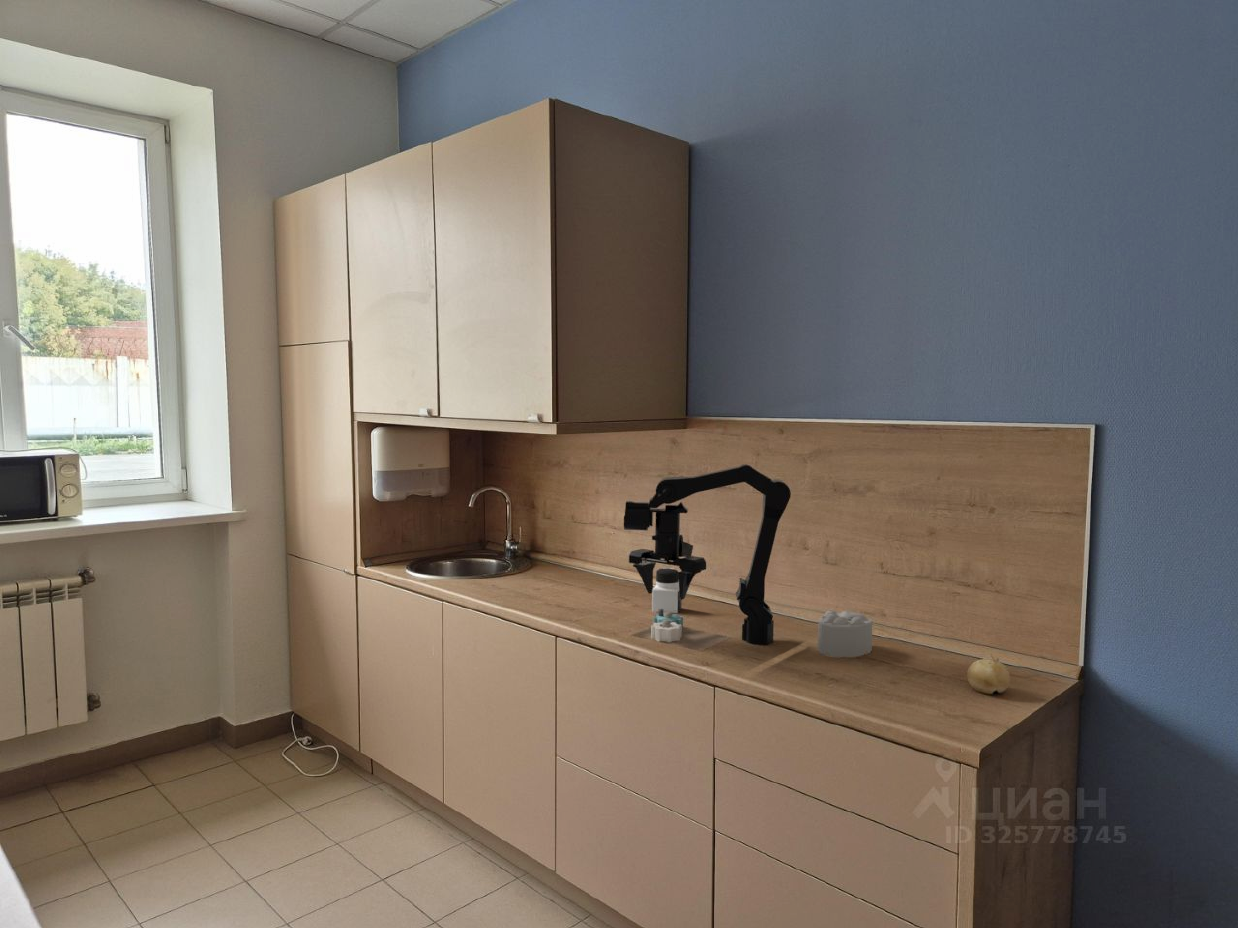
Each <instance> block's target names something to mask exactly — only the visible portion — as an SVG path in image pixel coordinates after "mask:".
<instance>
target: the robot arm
mask: <svg viewBox="0 0 1238 928" xmlns="http://www.w3.org/2000/svg"><path fill="white" fill-rule="evenodd" d="M741 483H746V484H747V485H749V486H750V487H752V488H753V489H755V490H756V491H757V492H759V493H760V494H762V496H763V497H762V515H761V516H762V517H761V521H760V525H759V529H758V532H757V533H758V534H757V538H756V543H755V546H754V550H753V554H752V559H751V563H750V568H749V570H748V573H747V575H746V577H745V579H744V578H742V577H739V581H738V588H737V590H736V592H735V597H736V600H737V601H738V607H739V609H740V610H739V611H741V612H742V613H743V615H746V616H747V617H745V618H743V623H742V624H741V625H742V626H741V641H744V642H746V643H747V644H750V645H753V646H754V645H756V646H768V645H771V644H773V643H774V625H775V624H774V623H775V620H773V618H774V617H773V612H772V610H771V607H770V606H769V605H768V604H767V603H766V602H765V593H766V592H765V589H766V588H765V587H766V585H765V583H766V575H767V571H768V568H769V567H768V566H769V563H770V558H771V554H772V549H773V545H774V542H775V537H776V535H777V534H776V533H777V530H778V524H779V522H780V520H781V517H782V516H783V514H784V513H785V510H786V508H787V506H788V504H789V502H790V499H791V489H790V487H789V486H788V484H787V483H785V482H784V481H783V480H781V479H775V478H774V479H772V478H769V476H767V475H765V474H763V473H762V472H759V471H758V470H756V469H755V468H754V467H752V466H751V465H750V464H747V463H744V464H741V465H739V466H735V467H730V468H726V469H721V470H717V471H712V472H707V473H704V474H703V473H702V474H698V475H693V476H668V477H664V478H662V479H660V481H658V483H657V486H656V487H655V494H654V495H653V497H650V498H649V501H648V502H645V501H644V502H643V501H642V502H641V501H640V502H639V501H633V500H627V501H625V509H624V516H623V530H624V531H648V530H649V528H650V527H653V526H654V513H655V534H654V535H651V540H652V541H654V550H653V549H646V548H640V549H635V550H632V551H630V553H629V555H628V563H629V564H632V567H633V568H635V569H636V570H637V573H638V575H639V576H640V579H641V580H642V582H643V585H644V586H645V589H646V591H647V593H648V594H652V590H653V588H654V569H655V567H656V564H657V563H658V564H662V565H669V566H675V567H679V569H680V571H678V578H679V580H678V585H679V593H680V599H681V600H684V599H685V598H686V596H687V593H688V591H689V587H690V586H691V582H692V581H693V578H694V577H695V576H696V575H697V574H700V573H701V572H702V571H705V570H707V561H706V559H705V558H704V556H703V557H702V556H701V557H700V556H695V555H693V550H694V544H691V543H688V542H686V541H684V536H683V534H680V530H681V527H680V525H681V522H680V521H681V520H680V519H681V514H688V512H689V509H688V508H687V507H686V505H684V504H683V501H681V500H683V499H686V498H688V497H690V496H691V495H694V494H697V493H700V492H701V493H702V492H704V491H709V490H714V489H719V488H723V487H727V486H732V485H736V484H741ZM678 501H680V502H679V503H678V504H674V503H676V502H678ZM663 505H665V507H664V508H659V507H661V506H663Z"/></svg>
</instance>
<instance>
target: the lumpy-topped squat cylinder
mask: <svg viewBox="0 0 1238 928" xmlns="http://www.w3.org/2000/svg"><path fill="white" fill-rule="evenodd" d="M817 627H818V631H817V632H818V636H817V652H818V651H819V652H820V653H821V655H822V654H823V655H822V656H825V655H826V657H830V656H832V657H831V658H840V657H846V658H858V657H862V656H864V654H865V655H867V653H868V654H870V653H871V651H873V620H872V619H871V618H868V617H867V616H865V614H862V613H858V612H853V611H850V610H843V611H841V612H840V613H837V612H836V611H835V610H828V611H826V612H825V613H824V614H823V616H822V617H820V618H819V620H818V626H817ZM819 652H818V653H819ZM820 653H819V654H820ZM861 655H862V656H861ZM857 656H858V657H857Z"/></svg>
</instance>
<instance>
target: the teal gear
mask: <svg viewBox="0 0 1238 928" xmlns="http://www.w3.org/2000/svg"><path fill="white" fill-rule="evenodd" d="M664 620H668V621H671V623H672V622H675V623H676V624H678V625H682V629H683V628H684V625H683V624H684V617H683V616H681V615H678V613H672V618H665V617H664V612H663V609H659V612H658V614H655V615H654V616H653V623H661V622H662V621H664Z"/></svg>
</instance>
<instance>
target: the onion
mask: <svg viewBox="0 0 1238 928" xmlns="http://www.w3.org/2000/svg"><path fill="white" fill-rule="evenodd" d="M999 660H1000V658H999V657H997V656H993V654H992V653H991V654H990V658H982V659H977V660H976V661H973V663H971V664H970V666H969V667H968V669H967V672H966V676H967V680H968V683H969V685H970V686H971V688H972V689H973V690H975V691H976V692H978V693H981V694H985V695H986V694H987V695H994V693H995V692H996V693H998V694H1001V693H1004V692H1005V691H1006V690H1007V689H1008V687H1009V686H1010V682H1011V675H1010V673H1009V670H1008V668H1007V667H1006V666H1005V665H1004V664H1003V663H1002V662H1000V661H999Z"/></svg>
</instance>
